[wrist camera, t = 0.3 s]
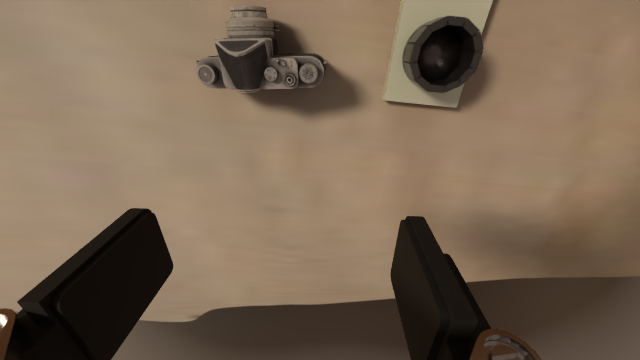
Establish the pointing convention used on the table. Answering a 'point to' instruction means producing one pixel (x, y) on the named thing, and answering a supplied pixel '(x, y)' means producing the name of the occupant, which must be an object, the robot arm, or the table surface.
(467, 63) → the black faceted cup
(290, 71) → the camera
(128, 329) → the robot arm
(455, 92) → the board
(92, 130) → the table surface
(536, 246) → the table surface
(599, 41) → the table surface
